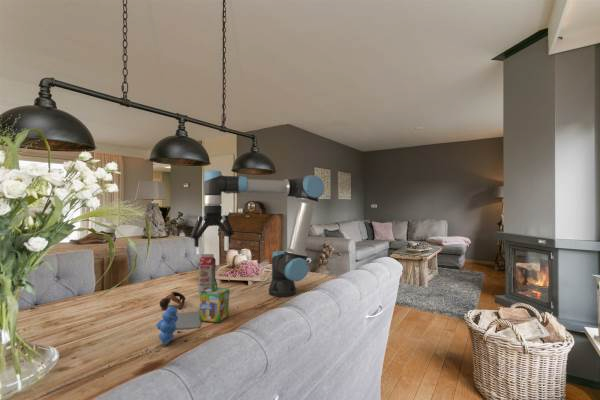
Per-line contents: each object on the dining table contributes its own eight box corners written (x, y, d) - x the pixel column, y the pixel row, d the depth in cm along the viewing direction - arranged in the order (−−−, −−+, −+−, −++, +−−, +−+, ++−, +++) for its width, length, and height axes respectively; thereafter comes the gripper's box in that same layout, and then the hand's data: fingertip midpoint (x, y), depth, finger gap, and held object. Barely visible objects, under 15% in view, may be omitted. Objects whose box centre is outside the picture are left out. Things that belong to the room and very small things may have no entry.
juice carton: (202, 293, 157) (203, 253, 157) (215, 294, 157) (215, 253, 157) (198, 297, 150) (198, 255, 151) (210, 297, 150) (211, 255, 150)
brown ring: (169, 304, 141) (178, 289, 141) (182, 316, 137) (191, 301, 138) (150, 306, 130) (160, 290, 130) (163, 319, 126) (173, 302, 127)
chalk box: (218, 323, 117) (221, 286, 117) (198, 320, 119) (200, 284, 119) (228, 315, 126) (230, 281, 126) (209, 313, 128) (211, 279, 128)
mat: (203, 312, 130) (203, 311, 130) (199, 328, 113) (199, 326, 113) (170, 314, 127) (170, 313, 127) (160, 331, 110) (160, 329, 110)
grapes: (162, 334, 107) (163, 301, 108) (181, 334, 108) (182, 301, 108) (148, 350, 96) (148, 313, 96) (169, 349, 96) (169, 313, 96)
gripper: (232, 204, 142) (233, 248, 142) (181, 205, 125) (181, 254, 124) (241, 204, 137) (241, 250, 136) (189, 205, 119) (189, 257, 119)
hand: (213, 252), depth 130 cm, fingers open, 13 cm apart
